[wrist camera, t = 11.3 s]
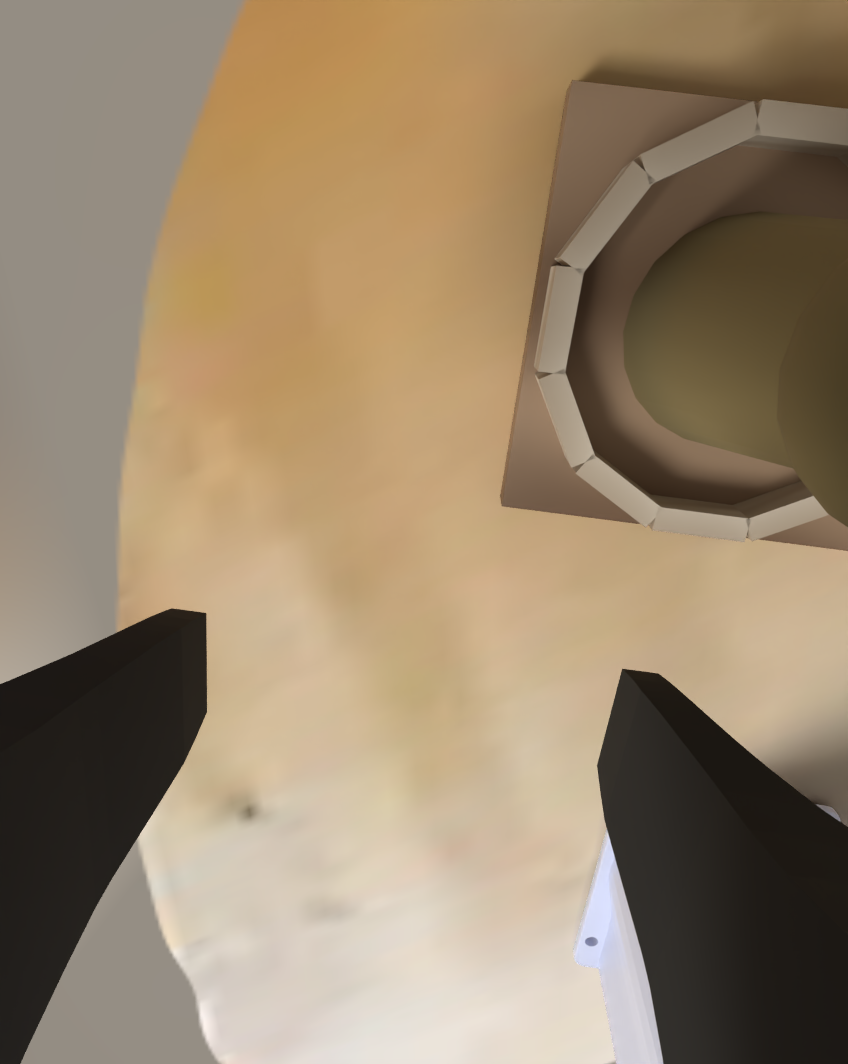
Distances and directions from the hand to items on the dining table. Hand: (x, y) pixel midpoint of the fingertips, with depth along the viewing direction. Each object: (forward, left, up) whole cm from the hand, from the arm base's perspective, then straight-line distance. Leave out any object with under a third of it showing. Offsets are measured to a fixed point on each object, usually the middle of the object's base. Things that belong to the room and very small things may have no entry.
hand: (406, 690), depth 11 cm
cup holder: (+6, -8, -10) cm, 14 cm away
